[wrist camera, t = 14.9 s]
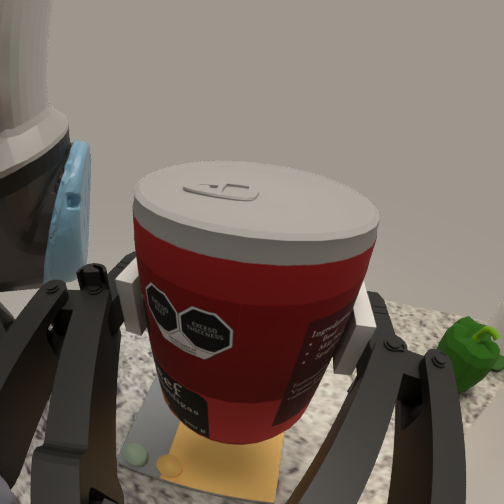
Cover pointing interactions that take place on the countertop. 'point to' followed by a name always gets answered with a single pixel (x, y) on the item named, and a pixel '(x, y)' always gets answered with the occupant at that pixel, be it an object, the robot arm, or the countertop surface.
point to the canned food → (247, 288)
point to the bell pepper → (470, 351)
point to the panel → (199, 456)
